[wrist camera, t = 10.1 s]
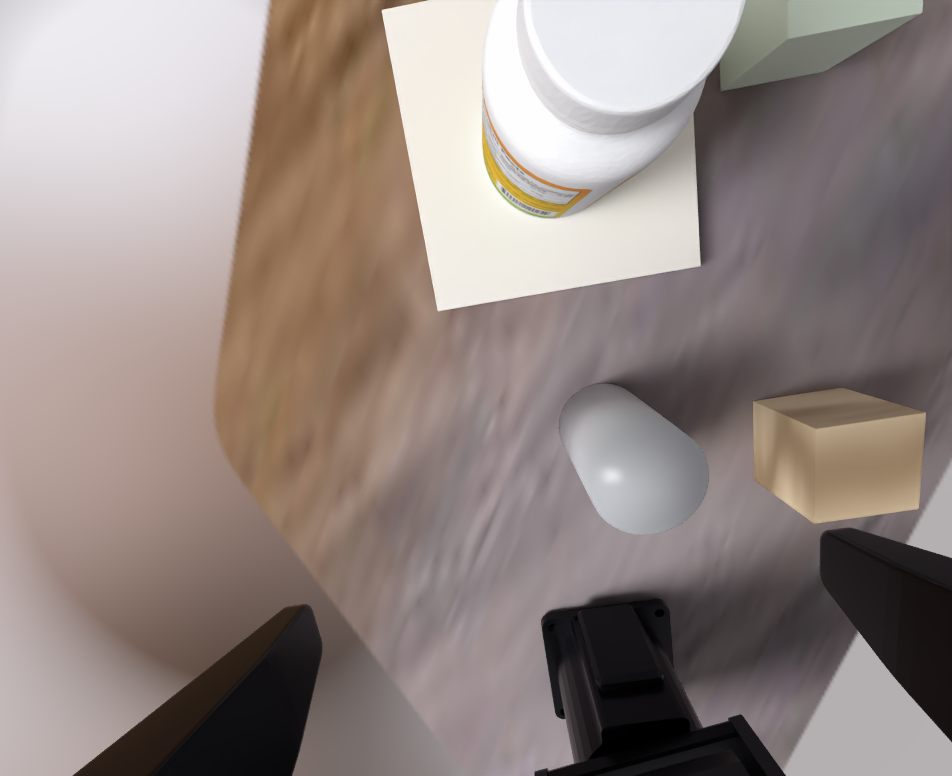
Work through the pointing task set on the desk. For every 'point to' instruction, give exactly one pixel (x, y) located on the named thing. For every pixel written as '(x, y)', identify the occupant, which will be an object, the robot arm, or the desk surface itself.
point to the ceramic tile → (483, 209)
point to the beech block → (839, 453)
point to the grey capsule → (632, 460)
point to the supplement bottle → (591, 92)
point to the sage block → (805, 36)
